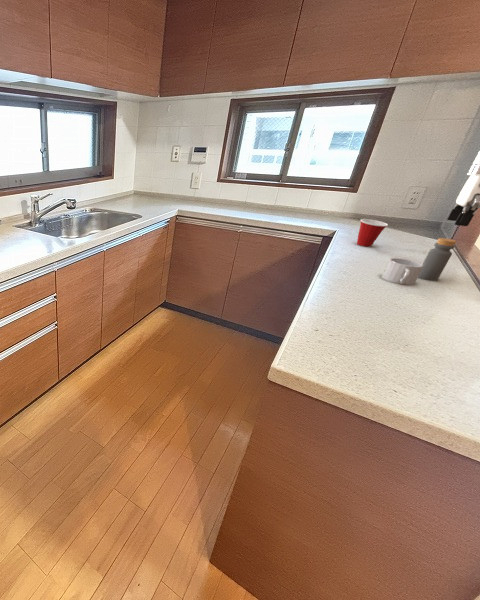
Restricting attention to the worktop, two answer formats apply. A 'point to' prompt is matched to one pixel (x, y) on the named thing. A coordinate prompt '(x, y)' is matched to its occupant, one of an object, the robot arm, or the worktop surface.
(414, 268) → the mug
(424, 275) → the bottle
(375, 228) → the plastic cup
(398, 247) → the worktop surface
